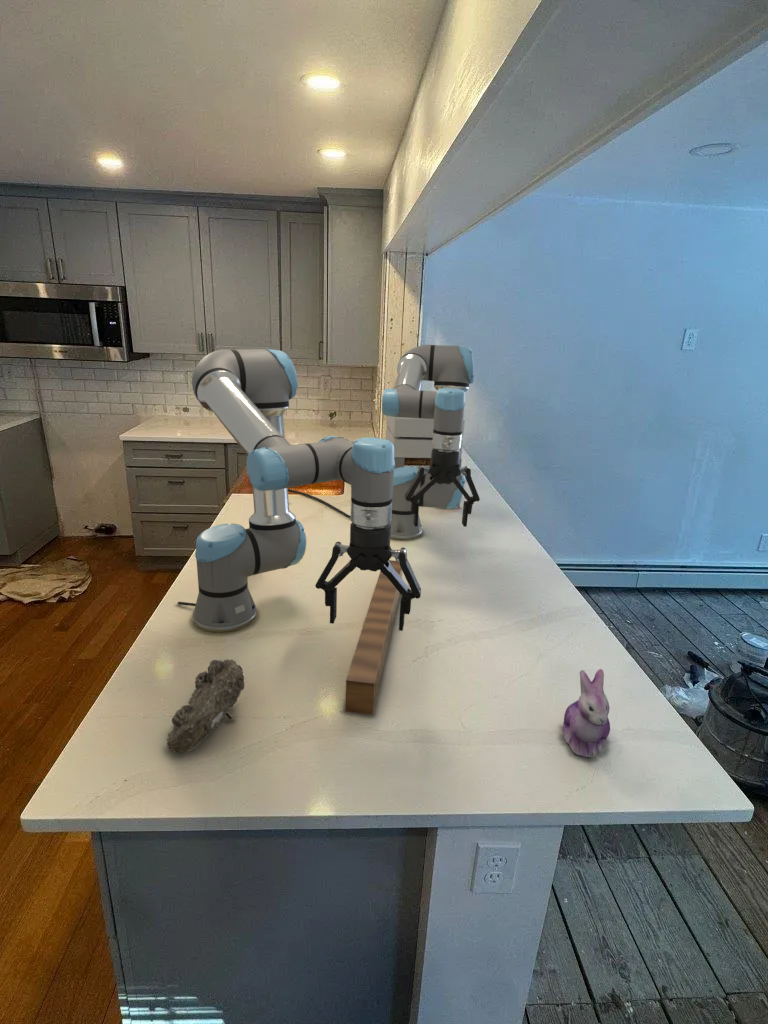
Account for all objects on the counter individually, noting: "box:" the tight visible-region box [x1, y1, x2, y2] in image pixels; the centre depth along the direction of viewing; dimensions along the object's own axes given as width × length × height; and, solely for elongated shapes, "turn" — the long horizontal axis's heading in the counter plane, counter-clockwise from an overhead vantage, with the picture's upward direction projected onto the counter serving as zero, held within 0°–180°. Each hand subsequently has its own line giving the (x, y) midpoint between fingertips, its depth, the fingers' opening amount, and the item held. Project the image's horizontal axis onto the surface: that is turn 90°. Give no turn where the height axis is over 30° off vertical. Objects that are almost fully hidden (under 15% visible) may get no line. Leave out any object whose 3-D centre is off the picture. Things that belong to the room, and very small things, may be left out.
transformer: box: [384, 416, 465, 469], centre depth 268 cm, size 34×33×41 cm
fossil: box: [166, 658, 245, 754], centre depth 106 cm, size 22×10×15 cm
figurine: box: [562, 668, 611, 758], centre depth 104 cm, size 9×10×15 cm
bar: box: [344, 559, 403, 716], centre depth 136 cm, size 56×6×7 cm, turn 173°
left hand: (367, 623), depth 112 cm, fingers open, 13 cm apart
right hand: (439, 525), depth 155 cm, fingers open, 13 cm apart
